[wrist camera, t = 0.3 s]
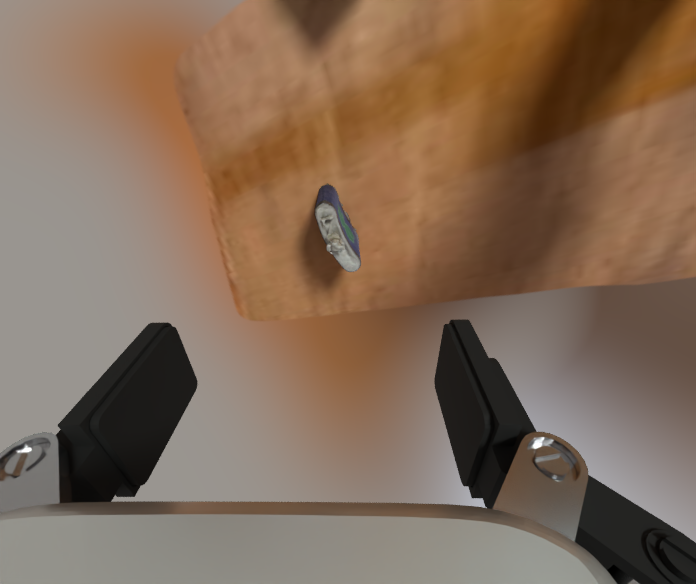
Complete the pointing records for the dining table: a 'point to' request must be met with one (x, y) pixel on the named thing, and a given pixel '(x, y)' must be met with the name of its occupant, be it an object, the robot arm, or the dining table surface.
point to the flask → (337, 229)
